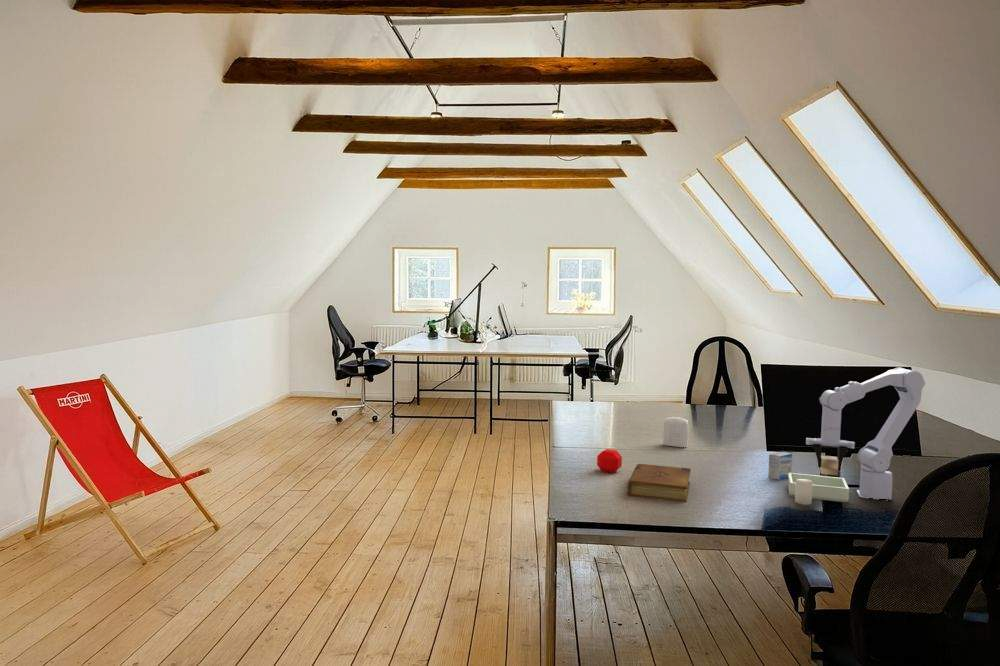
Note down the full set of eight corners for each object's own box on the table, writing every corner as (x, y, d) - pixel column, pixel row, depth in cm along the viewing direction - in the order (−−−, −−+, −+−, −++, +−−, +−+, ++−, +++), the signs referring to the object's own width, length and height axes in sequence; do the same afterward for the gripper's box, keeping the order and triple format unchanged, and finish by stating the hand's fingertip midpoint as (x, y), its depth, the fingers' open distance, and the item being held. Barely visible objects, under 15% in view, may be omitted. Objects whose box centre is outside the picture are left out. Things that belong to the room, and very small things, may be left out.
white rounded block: (688, 446, 311) (689, 417, 310) (686, 448, 307) (688, 419, 306) (664, 443, 315) (665, 415, 314) (662, 445, 311) (663, 416, 310)
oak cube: (835, 471, 245) (836, 456, 244) (837, 475, 240) (838, 460, 240) (819, 470, 246) (820, 455, 246) (821, 473, 242) (821, 458, 241)
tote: (843, 491, 250) (843, 478, 249) (848, 502, 237) (849, 488, 237) (787, 485, 255) (788, 472, 255) (789, 496, 242) (790, 482, 242)
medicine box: (778, 480, 262) (780, 456, 261) (767, 477, 265) (768, 453, 264) (791, 477, 266) (792, 453, 265) (780, 474, 270) (781, 451, 269)
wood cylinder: (811, 500, 238) (812, 479, 237) (812, 505, 233) (813, 483, 233) (794, 499, 239) (795, 478, 239) (795, 503, 235) (796, 482, 234)
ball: (623, 470, 271) (624, 450, 270) (615, 475, 264) (616, 454, 263) (603, 467, 275) (603, 447, 274) (594, 471, 268) (595, 451, 267)
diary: (635, 479, 261) (636, 463, 261) (689, 484, 256) (690, 468, 256) (627, 497, 240) (627, 479, 239) (686, 503, 234) (687, 485, 234)
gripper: (808, 427, 241) (805, 468, 242) (856, 431, 236) (854, 473, 237) (806, 423, 247) (804, 463, 248) (853, 427, 243) (851, 467, 244)
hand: (828, 467), depth 243 cm, fingers closed on oak cube, 5 cm apart
